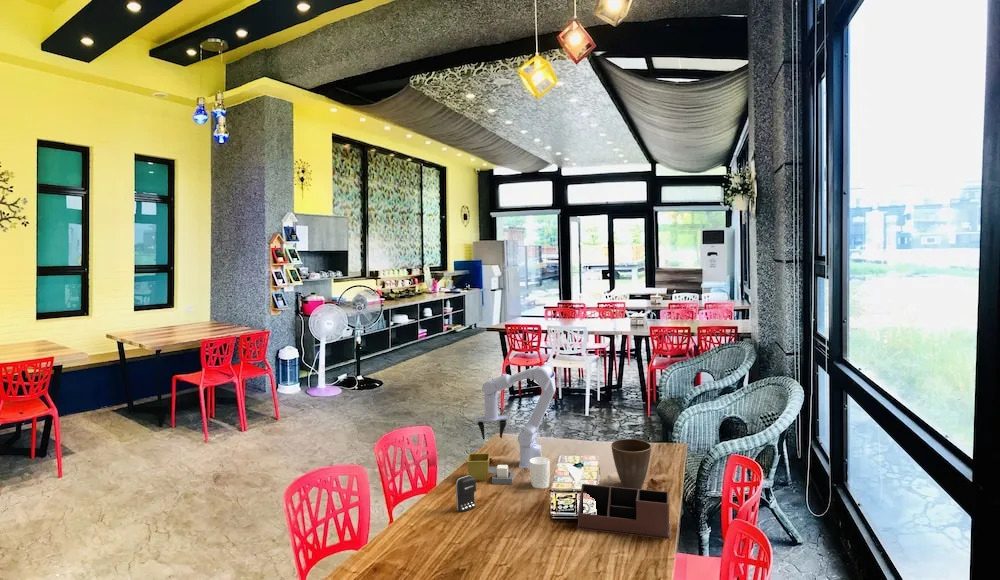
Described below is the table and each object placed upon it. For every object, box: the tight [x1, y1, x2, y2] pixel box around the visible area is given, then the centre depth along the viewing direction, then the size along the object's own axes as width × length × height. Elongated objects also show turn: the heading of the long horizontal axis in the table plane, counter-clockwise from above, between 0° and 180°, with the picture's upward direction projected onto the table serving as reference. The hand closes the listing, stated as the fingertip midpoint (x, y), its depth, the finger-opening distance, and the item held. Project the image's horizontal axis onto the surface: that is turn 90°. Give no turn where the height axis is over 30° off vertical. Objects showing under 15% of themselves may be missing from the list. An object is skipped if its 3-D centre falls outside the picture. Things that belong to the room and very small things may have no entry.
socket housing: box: [491, 470, 515, 485], centre depth 223 cm, size 8×8×3 cm
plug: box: [497, 464, 509, 478], centre depth 223 cm, size 4×4×6 cm
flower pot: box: [466, 452, 491, 482], centre depth 226 cm, size 9×9×9 cm
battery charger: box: [455, 474, 477, 513], centre depth 198 cm, size 7×4×11 cm, turn 126°
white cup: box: [529, 456, 551, 489], centre depth 217 cm, size 8×8×10 cm
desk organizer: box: [576, 483, 672, 540], centre depth 182 cm, size 10×29×11 cm, turn 72°
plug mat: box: [488, 465, 510, 474], centre depth 235 cm, size 9×8×1 cm
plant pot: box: [610, 438, 652, 489], centre depth 214 cm, size 15×15×16 cm
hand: (492, 438), depth 245 cm, fingers open, 7 cm apart
